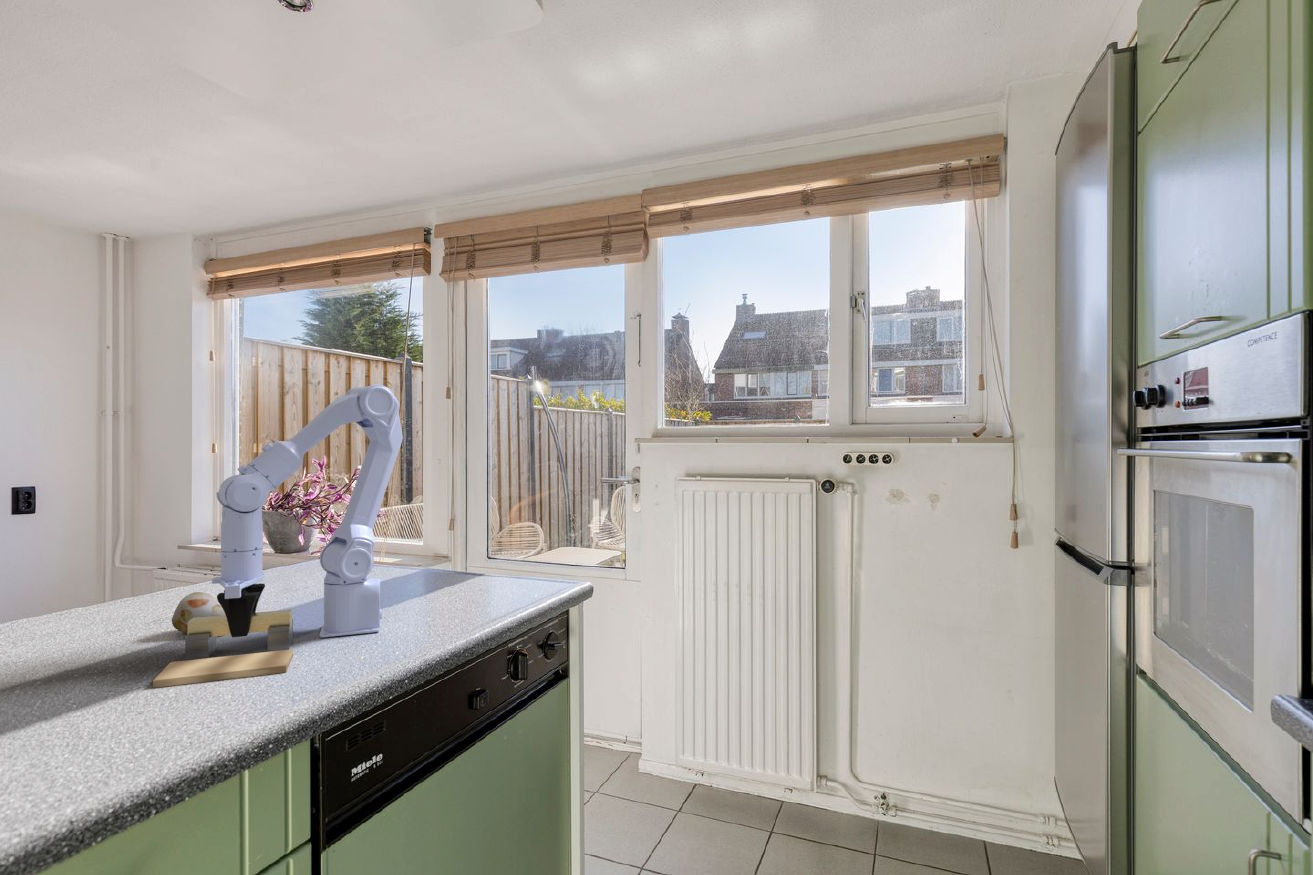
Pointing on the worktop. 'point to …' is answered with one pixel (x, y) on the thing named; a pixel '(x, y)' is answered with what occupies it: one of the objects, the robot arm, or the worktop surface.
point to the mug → (195, 609)
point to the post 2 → (280, 638)
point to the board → (224, 668)
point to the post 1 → (199, 646)
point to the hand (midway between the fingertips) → (241, 633)
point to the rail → (257, 624)
